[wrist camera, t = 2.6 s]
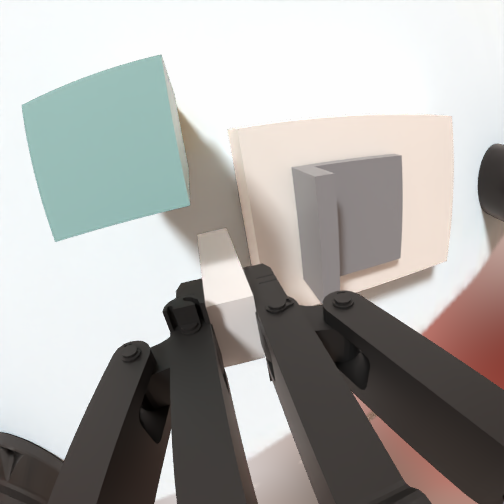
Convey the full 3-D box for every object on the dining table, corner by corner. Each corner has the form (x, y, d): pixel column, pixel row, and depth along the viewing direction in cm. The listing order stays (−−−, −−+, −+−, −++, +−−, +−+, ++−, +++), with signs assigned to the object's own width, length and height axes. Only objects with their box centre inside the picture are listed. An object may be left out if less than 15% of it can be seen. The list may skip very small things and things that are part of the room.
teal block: (126, 176, 18) (55, 241, 7) (113, 116, 16) (21, 105, 6) (188, 161, 19) (190, 205, 8) (176, 99, 17) (161, 54, 6)
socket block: (255, 288, 23) (268, 317, 20) (227, 129, 18) (237, 128, 15) (418, 243, 25) (446, 260, 22) (418, 113, 20) (451, 116, 17)
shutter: (303, 279, 19) (323, 306, 16) (291, 167, 16) (314, 176, 13) (393, 253, 20) (421, 273, 17) (393, 153, 17) (427, 161, 14)
